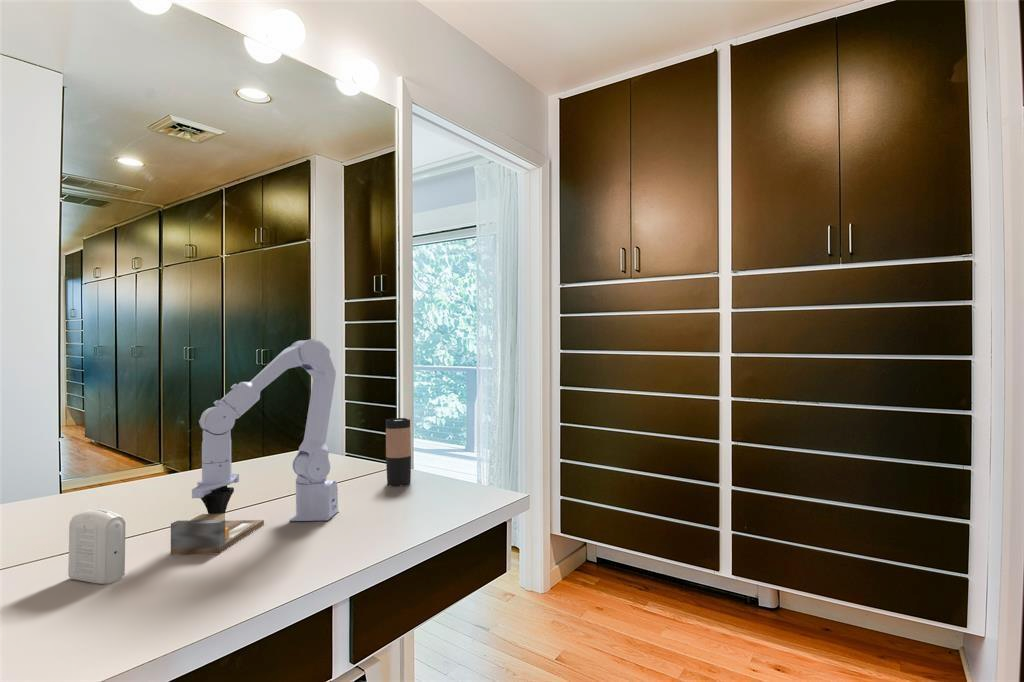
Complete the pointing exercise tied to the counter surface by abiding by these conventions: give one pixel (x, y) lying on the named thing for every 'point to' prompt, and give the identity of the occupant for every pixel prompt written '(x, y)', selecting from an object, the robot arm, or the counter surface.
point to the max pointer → (226, 533)
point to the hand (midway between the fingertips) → (216, 522)
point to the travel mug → (398, 451)
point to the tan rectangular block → (210, 517)
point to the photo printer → (97, 546)
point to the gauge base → (208, 535)
